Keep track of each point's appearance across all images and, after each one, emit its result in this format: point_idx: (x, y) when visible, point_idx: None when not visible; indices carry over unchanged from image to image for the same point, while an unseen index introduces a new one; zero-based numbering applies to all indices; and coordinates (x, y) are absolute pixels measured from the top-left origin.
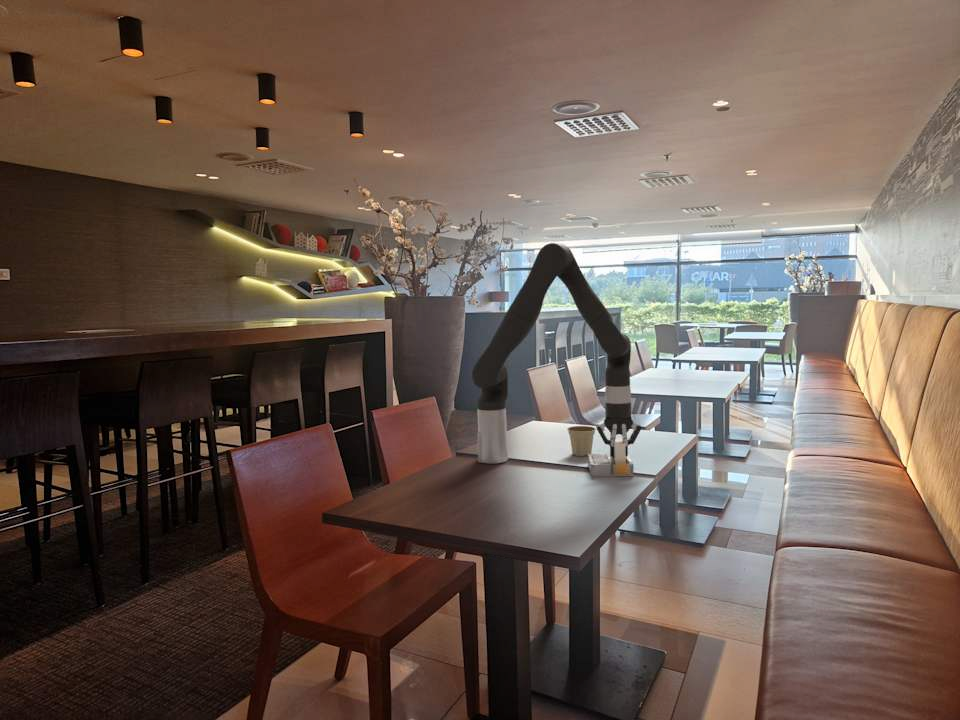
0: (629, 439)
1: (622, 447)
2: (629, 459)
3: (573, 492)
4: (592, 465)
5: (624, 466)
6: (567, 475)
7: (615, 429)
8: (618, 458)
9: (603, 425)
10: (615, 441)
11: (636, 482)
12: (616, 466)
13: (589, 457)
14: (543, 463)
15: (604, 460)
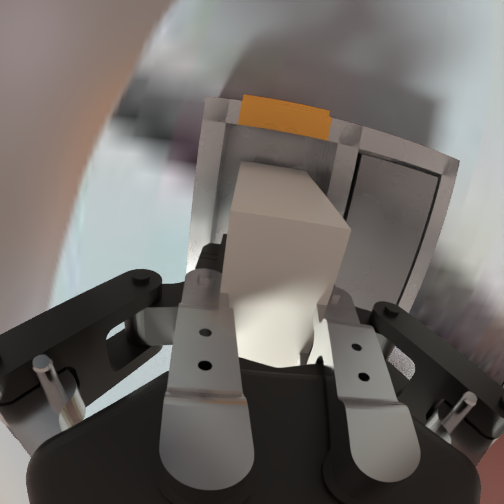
0: (155, 332)
1: (264, 202)
2: (198, 227)
3: (497, 2)
4: (451, 157)
5: (270, 99)
6: (488, 203)
7: (359, 402)
8: (294, 181)
9: (466, 454)
10: (293, 342)
11: (235, 3)
12: (323, 109)
13: (406, 311)
14: (470, 357)
15: (363, 236)
